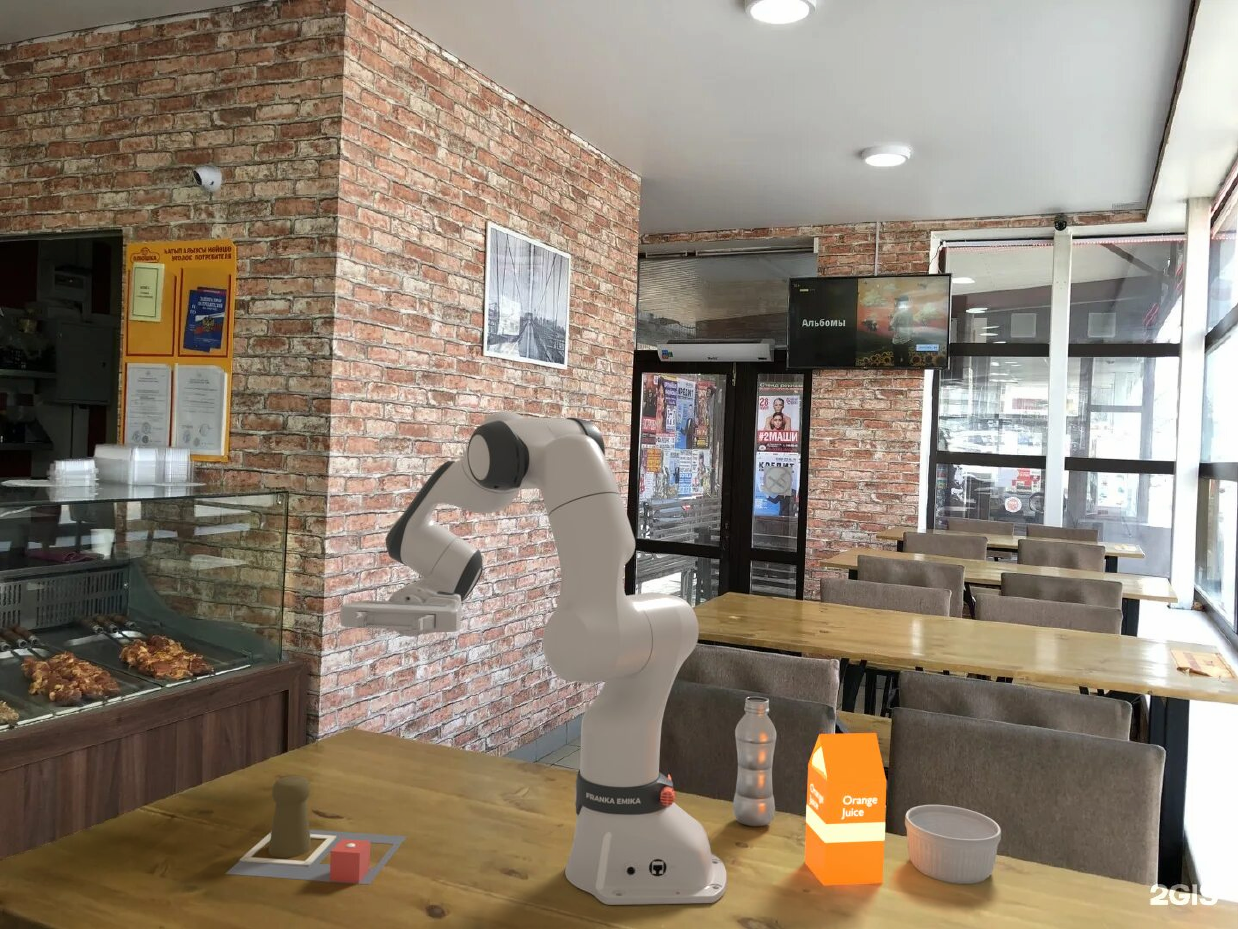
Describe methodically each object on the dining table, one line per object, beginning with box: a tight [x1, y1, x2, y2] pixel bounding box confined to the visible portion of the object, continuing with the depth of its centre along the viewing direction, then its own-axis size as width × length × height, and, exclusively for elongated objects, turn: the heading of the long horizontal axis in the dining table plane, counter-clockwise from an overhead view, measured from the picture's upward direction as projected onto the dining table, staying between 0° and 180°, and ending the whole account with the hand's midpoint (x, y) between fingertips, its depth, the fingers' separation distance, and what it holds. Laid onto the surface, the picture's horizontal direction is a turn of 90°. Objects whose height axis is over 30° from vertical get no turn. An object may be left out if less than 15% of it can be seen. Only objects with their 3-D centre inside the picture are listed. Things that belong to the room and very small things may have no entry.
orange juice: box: [804, 732, 887, 886], centre depth 140 cm, size 8×9×20 cm
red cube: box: [329, 839, 371, 883], centre depth 132 cm, size 4×4×4 cm
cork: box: [268, 775, 312, 859], centre depth 140 cm, size 6×6×11 cm
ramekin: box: [904, 804, 1002, 885], centre depth 142 cm, size 13×13×7 cm
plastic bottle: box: [732, 696, 777, 827], centre depth 157 cm, size 6×7×20 cm
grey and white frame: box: [224, 829, 407, 886], centre depth 139 cm, size 20×16×1 cm
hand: (387, 624), depth 159 cm, fingers open, 8 cm apart
